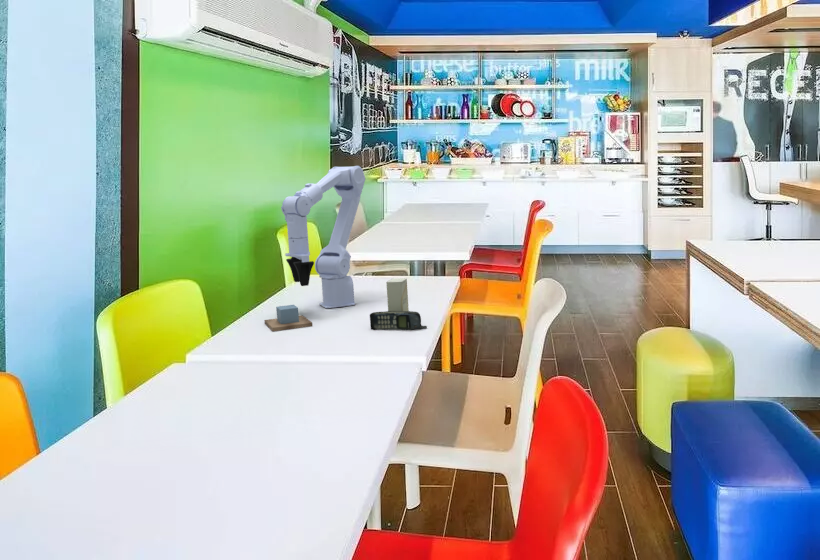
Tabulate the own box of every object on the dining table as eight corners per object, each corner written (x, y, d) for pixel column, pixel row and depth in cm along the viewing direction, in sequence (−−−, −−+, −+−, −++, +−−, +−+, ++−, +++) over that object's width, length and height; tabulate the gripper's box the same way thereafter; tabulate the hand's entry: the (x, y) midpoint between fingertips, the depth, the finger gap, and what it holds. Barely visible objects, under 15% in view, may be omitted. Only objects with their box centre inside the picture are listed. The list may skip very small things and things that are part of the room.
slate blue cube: (294, 318, 210) (293, 304, 209) (299, 321, 205) (298, 307, 205) (277, 320, 208) (276, 306, 207) (281, 324, 203) (280, 309, 203)
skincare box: (404, 326, 199) (401, 281, 196) (388, 326, 200) (385, 281, 198) (409, 321, 205) (407, 277, 203) (394, 320, 206) (391, 277, 204)
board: (302, 318, 214) (301, 305, 213) (312, 326, 204) (311, 312, 203) (264, 323, 210) (263, 310, 209) (272, 331, 200) (271, 317, 199)
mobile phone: (368, 313, 196) (424, 311, 193) (371, 310, 199) (426, 309, 195) (370, 331, 196) (425, 330, 193) (372, 328, 199) (427, 327, 196)
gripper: (278, 236, 220) (282, 281, 222) (290, 241, 206) (293, 288, 209) (302, 234, 222) (305, 279, 225) (314, 238, 209) (318, 286, 211)
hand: (301, 283), depth 217 cm, fingers open, 7 cm apart
